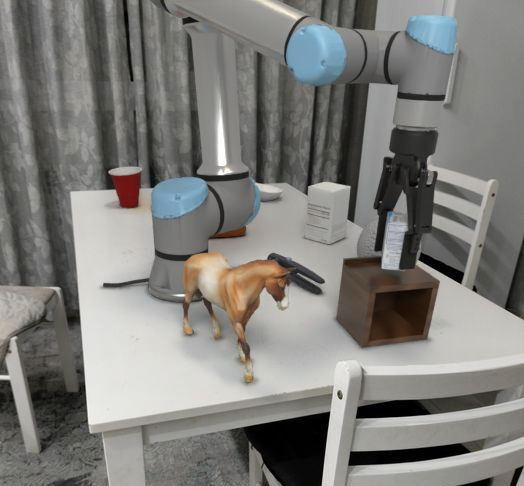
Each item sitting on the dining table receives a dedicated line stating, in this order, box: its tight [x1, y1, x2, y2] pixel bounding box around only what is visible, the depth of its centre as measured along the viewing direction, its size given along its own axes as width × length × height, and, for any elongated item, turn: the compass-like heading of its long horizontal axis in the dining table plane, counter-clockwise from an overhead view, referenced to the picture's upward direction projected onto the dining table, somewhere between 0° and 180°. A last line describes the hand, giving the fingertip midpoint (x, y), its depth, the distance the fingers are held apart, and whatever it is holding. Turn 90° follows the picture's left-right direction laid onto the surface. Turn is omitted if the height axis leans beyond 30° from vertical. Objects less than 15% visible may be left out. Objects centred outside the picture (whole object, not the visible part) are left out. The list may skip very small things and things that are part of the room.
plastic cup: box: [108, 166, 143, 209], centre depth 173 cm, size 11×11×12 cm
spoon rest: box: [255, 182, 284, 202], centre depth 188 cm, size 24×12×7 cm, turn 94°
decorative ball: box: [356, 216, 422, 265], centre depth 125 cm, size 15×15×15 cm
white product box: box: [304, 181, 352, 245], centre depth 150 cm, size 9×9×15 cm
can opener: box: [266, 252, 326, 295], centre depth 122 cm, size 18×7×6 cm, turn 40°
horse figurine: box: [181, 252, 296, 383], centre depth 90 cm, size 31×8×21 cm, turn 35°
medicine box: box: [381, 210, 408, 271], centre depth 95 cm, size 8×4×9 cm, turn 168°
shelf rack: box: [335, 256, 441, 348], centre depth 101 cm, size 14×12×13 cm
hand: (393, 259), depth 97 cm, fingers closed on medicine box, 9 cm apart
